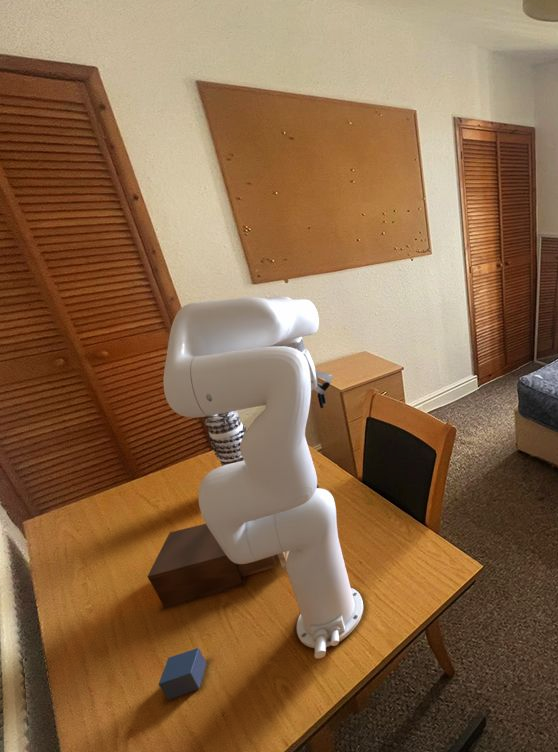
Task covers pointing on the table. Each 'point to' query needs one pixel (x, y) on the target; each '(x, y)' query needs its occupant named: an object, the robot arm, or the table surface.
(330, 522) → the robot arm
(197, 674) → the block
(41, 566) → the table surface
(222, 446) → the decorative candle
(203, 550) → the cabinet
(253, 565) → the drawer
